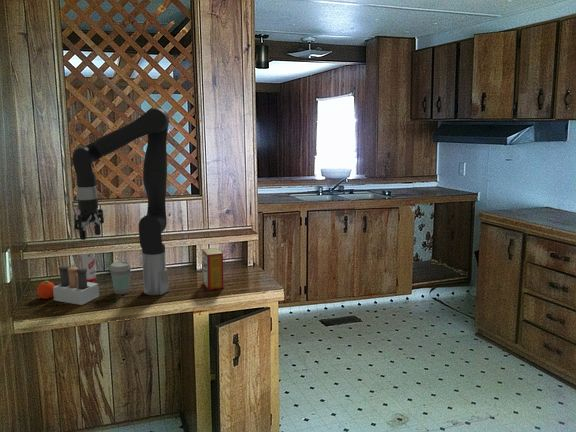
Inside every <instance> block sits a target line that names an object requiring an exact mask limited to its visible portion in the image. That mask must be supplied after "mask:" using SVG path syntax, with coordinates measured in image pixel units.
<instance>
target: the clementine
mask: <svg viewBox="0 0 576 432" xmlns="http://www.w3.org/2000/svg"><path fill="white" fill-rule="evenodd" d="M55 286H56V285H55V284H54V282H51V281H49V280H44V281H42V282H41V283H39V284H38V286H37V288H36V293H37V295H38V296H39V297H40V298H41V299H44V300H47V299H51V298H52V297H54V293H53V287H55Z"/></svg>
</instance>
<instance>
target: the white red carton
mask: <svg viewBox="0 0 576 432" xmlns="http://www.w3.org/2000/svg"><path fill="white" fill-rule="evenodd" d="M78 256H79V267H80V268H79V269H81V268H85V269H87V272H86V276H87V282H91V283H96V281H97V271H96V256H95V252H94V253H90V254H80V255H78Z"/></svg>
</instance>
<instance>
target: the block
mask: <svg viewBox="0 0 576 432" xmlns="http://www.w3.org/2000/svg"><path fill="white" fill-rule="evenodd" d="M53 293H54V296H53V301H55V302H62V303H68V304H74V305H80V306H82V305H85V304H88V303H89V302H91V301H93V300H95V299H97V298H99V297H100V287H99V283H96V282H94V283H91V282H87V288H86V289H84V290H82V289H79V287H77V288H70V285H69V286H67V287H62V286H61V283H60V284H57V285H55V287H53Z"/></svg>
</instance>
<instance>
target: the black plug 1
mask: <svg viewBox="0 0 576 432" xmlns="http://www.w3.org/2000/svg"><path fill="white" fill-rule="evenodd" d="M68 268H70V266H68V265H62V266H59V267H58V270H59V275H60V284H61V286H62V287H67V286H69V285H70V283H69V272H68Z"/></svg>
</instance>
